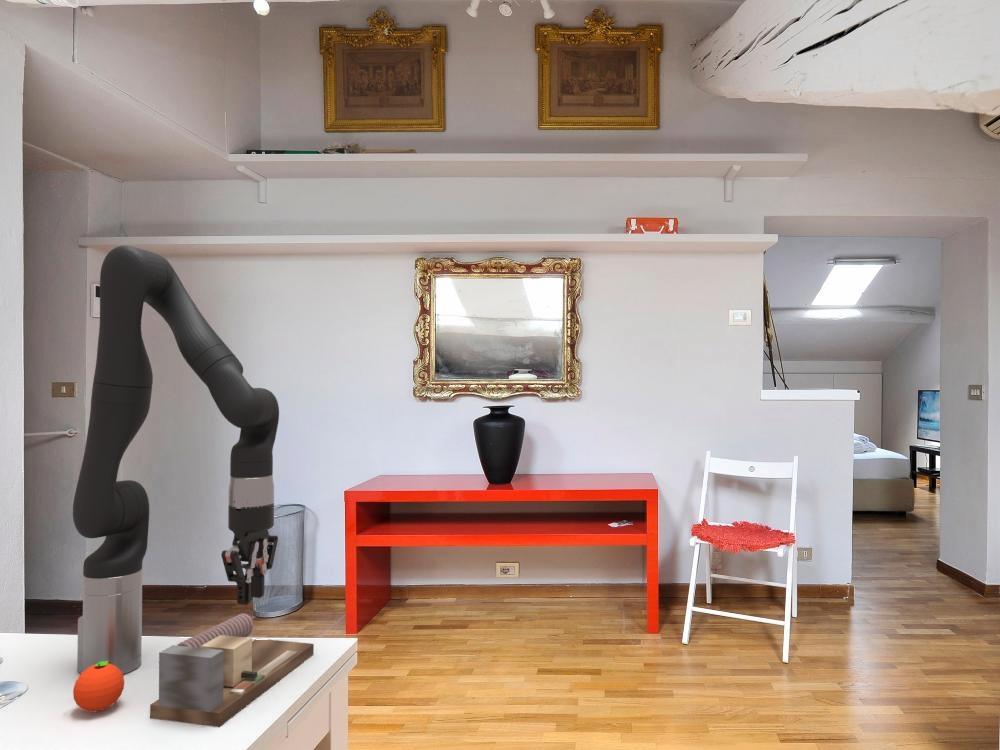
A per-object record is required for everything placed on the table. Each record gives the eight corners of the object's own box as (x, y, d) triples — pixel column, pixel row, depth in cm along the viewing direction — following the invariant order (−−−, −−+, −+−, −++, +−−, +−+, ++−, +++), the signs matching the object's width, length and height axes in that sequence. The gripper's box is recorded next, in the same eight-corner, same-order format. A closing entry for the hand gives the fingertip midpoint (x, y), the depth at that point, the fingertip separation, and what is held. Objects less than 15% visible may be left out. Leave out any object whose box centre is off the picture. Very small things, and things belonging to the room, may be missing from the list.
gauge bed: (150, 717, 102) (150, 651, 103) (256, 648, 130) (257, 596, 130) (219, 726, 100) (219, 658, 100) (313, 654, 127) (313, 601, 127)
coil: (192, 646, 120) (257, 614, 137) (171, 641, 121) (238, 610, 138) (190, 672, 120) (255, 637, 137) (169, 666, 121) (236, 632, 139)
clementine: (86, 698, 109) (87, 654, 109) (133, 694, 110) (133, 650, 110) (64, 722, 101) (65, 674, 101) (114, 718, 102) (115, 670, 102)
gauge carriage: (188, 691, 106) (188, 653, 106) (220, 670, 114) (220, 635, 114) (235, 696, 104) (235, 657, 104) (264, 675, 112) (264, 639, 112)
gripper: (255, 494, 126) (255, 587, 125) (206, 507, 112) (205, 611, 112) (292, 496, 124) (291, 590, 124) (246, 509, 110) (245, 615, 110)
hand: (250, 599), depth 118 cm, fingers open, 3 cm apart
